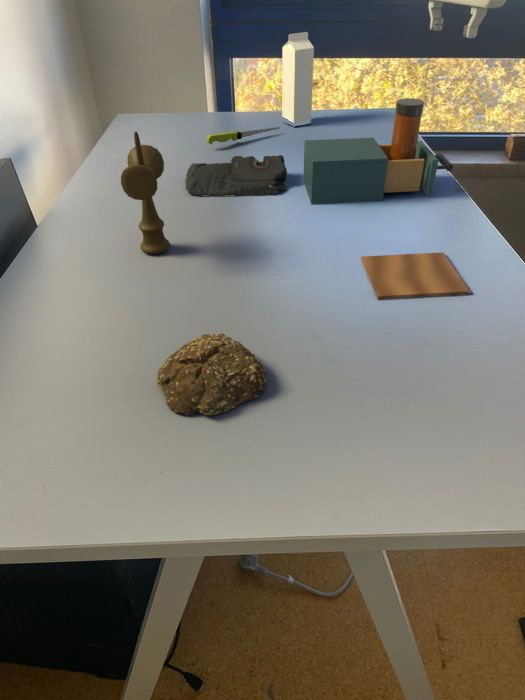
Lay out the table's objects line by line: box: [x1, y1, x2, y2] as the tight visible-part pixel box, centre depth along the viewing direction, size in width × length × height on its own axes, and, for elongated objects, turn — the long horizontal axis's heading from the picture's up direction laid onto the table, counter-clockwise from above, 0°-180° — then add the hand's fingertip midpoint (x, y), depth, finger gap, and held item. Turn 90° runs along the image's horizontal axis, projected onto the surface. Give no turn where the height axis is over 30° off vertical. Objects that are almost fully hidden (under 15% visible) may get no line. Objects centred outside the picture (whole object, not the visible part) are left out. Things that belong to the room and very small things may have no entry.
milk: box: [281, 31, 315, 123], centre depth 139 cm, size 6×6×22 cm
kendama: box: [120, 130, 170, 255], centre depth 84 cm, size 6×10×20 cm, turn 3°
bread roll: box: [155, 333, 267, 416], centre depth 63 cm, size 13×12×5 cm
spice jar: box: [389, 97, 425, 160], centre depth 103 cm, size 5×5×15 cm
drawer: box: [378, 140, 454, 194], centre depth 107 cm, size 18×11×7 cm, turn 94°
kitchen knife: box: [206, 126, 281, 145], centre depth 134 cm, size 22×1×3 cm, turn 124°
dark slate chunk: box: [185, 154, 288, 197], centre depth 112 cm, size 15×22×5 cm
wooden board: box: [360, 252, 471, 300], centre depth 82 cm, size 14×12×1 cm
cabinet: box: [302, 137, 388, 205], centre depth 106 cm, size 15×13×9 cm
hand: (451, 33), depth 92 cm, fingers open, 8 cm apart
